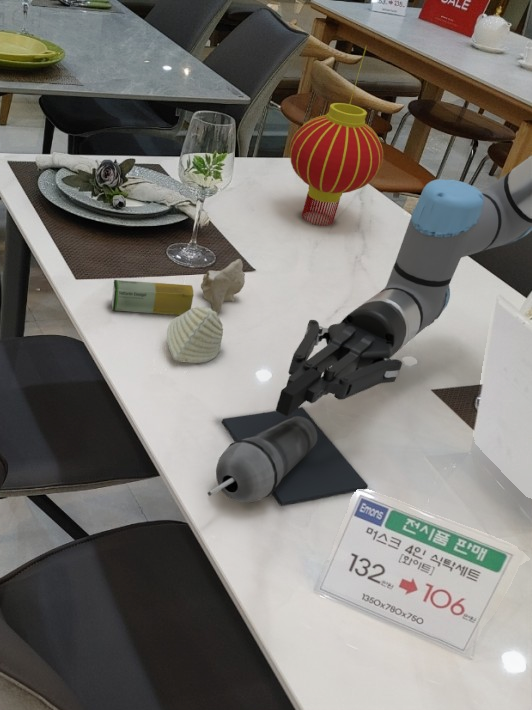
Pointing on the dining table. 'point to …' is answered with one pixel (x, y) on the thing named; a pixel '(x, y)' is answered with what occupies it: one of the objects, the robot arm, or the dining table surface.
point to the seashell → (195, 335)
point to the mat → (302, 461)
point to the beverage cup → (263, 459)
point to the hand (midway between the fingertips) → (284, 403)
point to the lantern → (335, 156)
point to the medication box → (151, 297)
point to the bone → (223, 284)
